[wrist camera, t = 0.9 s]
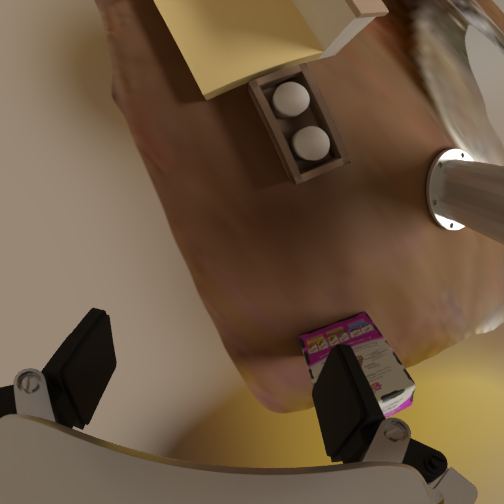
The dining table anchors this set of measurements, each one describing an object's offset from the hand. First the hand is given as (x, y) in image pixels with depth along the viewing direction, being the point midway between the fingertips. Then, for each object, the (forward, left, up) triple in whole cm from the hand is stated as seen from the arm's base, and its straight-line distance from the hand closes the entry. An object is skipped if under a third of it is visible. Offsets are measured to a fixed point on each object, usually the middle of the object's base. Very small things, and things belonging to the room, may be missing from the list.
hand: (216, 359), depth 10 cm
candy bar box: (-6, +22, -24) cm, 34 cm away
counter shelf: (-12, -26, -24) cm, 37 cm away
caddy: (-11, -8, -24) cm, 27 cm away
